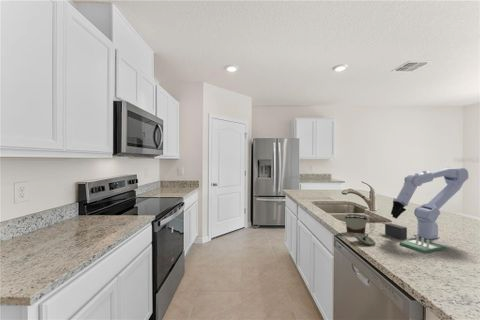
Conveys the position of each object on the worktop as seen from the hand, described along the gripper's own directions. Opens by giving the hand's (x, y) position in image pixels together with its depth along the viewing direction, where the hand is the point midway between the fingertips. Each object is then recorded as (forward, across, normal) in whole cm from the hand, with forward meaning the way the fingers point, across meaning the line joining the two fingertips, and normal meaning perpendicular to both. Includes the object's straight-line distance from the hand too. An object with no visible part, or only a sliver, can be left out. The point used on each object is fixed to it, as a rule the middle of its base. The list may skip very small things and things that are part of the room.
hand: (393, 216), depth 134 cm
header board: (+8, +3, +17) cm, 19 cm away
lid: (+21, +13, -3) cm, 25 cm away
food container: (+18, -3, -14) cm, 23 cm away
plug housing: (+9, -8, +3) cm, 12 cm away
